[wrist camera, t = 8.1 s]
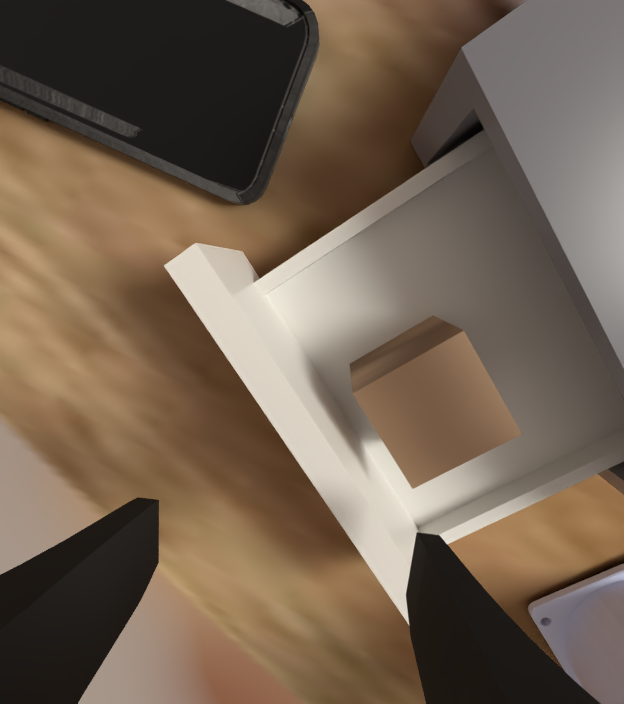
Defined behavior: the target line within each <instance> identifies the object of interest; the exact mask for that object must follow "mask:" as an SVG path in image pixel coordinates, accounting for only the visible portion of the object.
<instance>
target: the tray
mask: <svg viewBox="0 0 624 704" xmlns="http://www.w3.org/2000/svg"><path fill="white" fill-rule="evenodd" d="M164 267H165V268H166V269H167V271H168V272H169V274H170V275H171V277H172V278H173V280H174V281H175V283H176V284H177V286H178V287H179V289H180V290H181V291H182V293H183V294H184V296H185V297H186V299H187V300H188V302H189V303H190V305H191V306H192V308H193V309H194V311H195V312H196V313H197V315H198V316H199V318H200V319H201V321H202V322H203V324H204V325H205V327H206V328H207V330H208V331H209V333H210V334H211V335H212V337H213V338H214V340H215V341H216V343H217V344H218V346H219V347H220V349H221V350H222V352H223V353H224V355H225V356H226V357H227V359H228V360H229V362H230V363H231V365H232V366H233V368H234V369H235V371H236V372H237V374H238V375H239V376H240V378H241V379H242V381H243V382H244V384H245V385H246V387H247V388H248V390H249V391H250V393H251V394H252V396H253V397H254V398H255V400H256V401H257V403H258V404H259V406H260V407H261V409H262V410H263V412H264V413H265V415H266V416H267V418H268V419H269V420H270V422H271V423H272V425H273V426H274V428H275V429H276V431H277V432H278V434H279V435H280V437H281V438H282V440H283V441H284V442H285V444H286V445H287V447H288V448H289V450H290V451H291V453H292V454H293V456H294V457H295V459H296V460H297V462H298V463H299V464H300V466H301V467H302V469H303V470H304V472H305V473H306V475H307V476H308V478H309V479H310V481H311V482H312V484H313V485H314V486H315V488H316V489H317V491H318V492H319V494H320V495H321V497H322V498H323V500H324V501H325V503H326V504H327V506H328V507H329V508H330V510H331V511H332V513H333V514H334V516H335V517H336V519H337V520H338V522H339V523H340V525H341V526H342V527H343V529H344V530H345V532H346V533H347V535H348V536H349V538H350V539H351V541H352V542H353V544H354V545H355V547H356V548H357V549H358V551H359V552H360V554H361V555H362V557H363V558H364V560H365V561H366V563H367V564H368V566H369V567H370V569H371V570H372V571H373V573H374V574H375V576H376V577H377V579H378V580H379V582H380V583H381V585H382V586H383V588H384V589H385V591H386V592H387V593H388V595H389V596H390V598H391V599H392V601H393V602H394V604H395V605H396V607H397V608H398V610H399V611H400V613H401V614H402V615H403V617H404V618H405V620H406V621H407V623H408V624H409V619H408V610H407V602H406V590H407V585H408V579H409V573H410V567H411V562H412V556H413V550H414V544H415V539H416V533H417V532H419V533H427V534H435V535H440V536H441V538H442V539H443V540H444V541H445V542H446V544H449V543H451V542H453V541H455V540H457V539H460V538H462V537H464V536H466V535H468V534H470V533H472V532H474V531H477V530H479V529H481V528H483V527H485V526H487V525H489V524H492V523H494V522H496V521H498V520H500V519H502V518H504V517H506V516H509V515H511V514H513V513H515V512H517V511H519V510H521V509H523V508H526V507H528V506H530V505H532V504H534V503H536V502H538V501H541V500H543V499H545V498H547V497H549V496H551V495H553V494H555V493H558V492H560V491H562V490H564V489H566V488H568V487H570V486H572V485H575V484H577V483H579V482H581V481H583V480H585V479H587V478H589V477H592V476H594V475H596V474H598V473H600V472H602V471H604V470H607V469H609V468H611V467H613V466H615V465H617V464H619V463H621V462H624V400H623V398H622V396H621V394H620V392H619V390H618V388H617V386H616V384H615V382H614V380H613V379H612V377H611V375H610V373H609V371H608V369H607V367H606V365H605V363H604V361H603V359H602V357H601V355H600V353H599V351H598V349H597V347H596V345H595V343H594V342H593V340H592V338H591V336H590V334H589V332H588V330H587V328H586V326H585V324H584V322H583V320H582V318H581V316H580V314H579V312H578V310H577V308H576V306H575V305H574V303H573V301H572V299H571V297H570V295H569V293H568V291H567V289H566V287H565V285H564V283H563V281H562V279H561V277H560V275H559V273H558V271H557V269H556V268H555V266H554V264H553V262H552V260H551V258H550V256H549V254H548V252H547V250H546V248H545V246H544V244H543V242H542V240H541V238H540V236H539V234H538V232H537V231H536V229H535V227H534V225H533V223H532V221H531V219H530V217H529V215H528V213H527V211H526V209H525V207H524V205H523V203H522V201H521V199H520V197H519V195H518V194H517V192H516V190H515V188H514V186H513V184H512V182H511V180H510V178H509V176H508V174H507V172H506V170H505V168H504V166H503V164H502V162H501V160H500V158H499V157H498V155H497V153H496V151H495V149H494V147H493V145H492V143H491V141H490V139H489V137H488V135H487V133H486V131H485V129H484V130H482V131H481V132H479V133H478V134H476V135H475V136H473V137H472V138H470V139H469V140H467V141H466V142H464V143H463V144H461V145H460V146H458V147H457V148H455V149H454V150H452V151H451V152H449V153H448V154H446V155H445V156H443V157H442V158H440V159H439V160H437V161H436V162H434V163H433V164H431V165H430V166H428V167H427V168H425V169H424V170H422V171H421V172H419V173H418V174H416V175H415V176H413V177H412V178H410V179H409V180H407V181H406V182H404V183H403V184H401V185H400V186H398V187H397V188H395V189H394V190H392V191H391V192H389V193H388V194H386V195H385V196H383V197H382V198H380V199H379V200H377V201H376V202H374V203H373V204H371V205H370V206H368V207H367V208H365V209H364V210H362V211H361V212H359V213H358V214H356V215H355V216H353V217H352V218H350V219H349V220H347V221H346V222H344V223H343V224H341V225H340V226H338V227H337V228H335V229H334V230H332V231H331V232H329V233H328V234H326V235H325V236H323V237H322V238H320V239H319V240H317V241H316V242H314V243H313V244H311V245H310V246H308V247H307V248H305V249H304V250H302V251H301V252H299V253H298V254H296V255H295V256H293V257H292V258H290V259H289V260H287V261H286V262H284V263H283V264H281V265H280V266H278V267H277V268H275V269H274V270H272V271H271V272H269V273H268V274H266V275H265V276H263V277H262V278H259V276H258V275H257V273H256V272H255V270H254V269H253V267H252V265H251V264H250V262H249V261H248V259H247V258H246V256H245V255H244V253H243V252H242V251H238V250H232V249H227V248H221V247H216V246H211V245H205V244H200V243H195V244H194V245H192V246H191V247H189V248H188V249H187V250H185V251H184V252H182V253H181V254H179V255H178V256H177V257H175V258H174V259H172V260H171V261H170V262H168V263H167V264H165V265H164ZM431 316H435V317H437V318H439V319H442V320H444V321H446V322H448V323H450V324H452V325H454V326H456V327H458V328H460V329H462V330H464V332H465V333H466V335H467V337H468V339H469V341H470V342H471V344H472V346H473V348H474V349H475V351H476V353H477V355H478V357H479V358H480V360H481V362H482V364H483V366H484V367H485V369H486V371H487V373H488V374H489V376H490V378H491V380H492V382H493V383H494V385H495V387H496V389H497V390H498V392H499V394H500V396H501V398H502V399H503V401H504V403H505V405H506V406H507V408H508V410H509V412H510V414H511V415H512V417H513V419H514V421H515V422H516V424H517V426H518V428H519V430H520V431H521V433H522V435H520V436H518V437H516V438H514V439H512V440H510V441H508V442H506V443H504V444H502V445H500V446H498V447H496V448H494V449H492V450H490V451H488V452H486V453H484V454H482V455H480V456H478V457H476V458H474V459H472V460H470V461H468V462H466V463H464V464H462V465H460V466H458V467H456V468H454V469H452V470H450V471H448V472H446V473H444V474H442V475H440V476H438V477H436V478H434V479H432V480H430V481H428V482H426V483H424V484H422V485H420V486H418V487H416V488H414V489H412V487H411V486H410V484H409V482H408V481H407V479H406V478H405V476H404V475H403V473H402V471H401V470H400V468H399V467H398V465H397V463H396V462H395V460H394V459H393V457H392V455H391V454H390V452H389V451H388V449H387V447H386V446H385V444H384V443H383V441H382V440H381V438H380V436H379V435H378V433H377V432H376V430H375V428H374V427H373V425H372V424H371V422H370V420H369V419H368V417H367V416H366V414H365V413H364V411H363V409H362V408H361V406H360V405H359V403H358V401H357V400H356V398H355V397H354V395H353V393H352V383H351V374H350V363H352V362H354V361H355V360H357V359H359V358H361V357H362V356H364V355H366V354H367V353H369V352H371V351H373V350H374V349H376V348H378V347H379V346H381V345H383V344H385V343H386V342H388V341H390V340H391V339H393V338H395V337H397V336H398V335H400V334H402V333H403V332H405V331H407V330H409V329H410V328H412V327H414V326H416V325H417V324H419V323H421V322H422V321H424V320H426V319H428V318H429V317H431Z"/></svg>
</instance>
